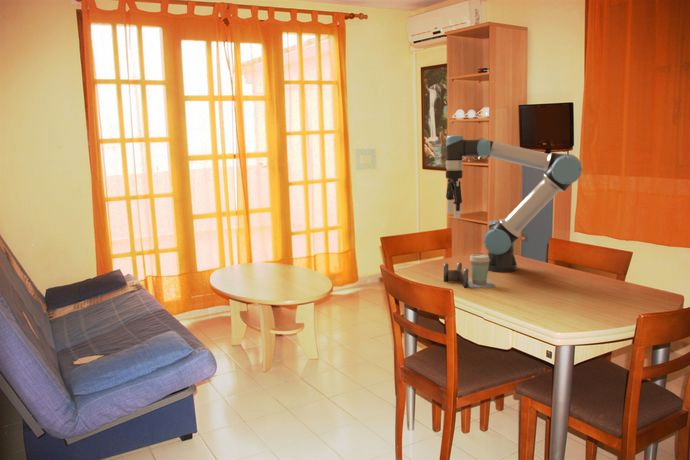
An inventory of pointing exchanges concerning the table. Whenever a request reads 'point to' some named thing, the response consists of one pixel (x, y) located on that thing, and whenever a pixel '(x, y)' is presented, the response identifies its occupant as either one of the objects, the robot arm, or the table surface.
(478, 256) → the coffee cup
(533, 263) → the table surface
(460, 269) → the rail
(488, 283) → the coaster
